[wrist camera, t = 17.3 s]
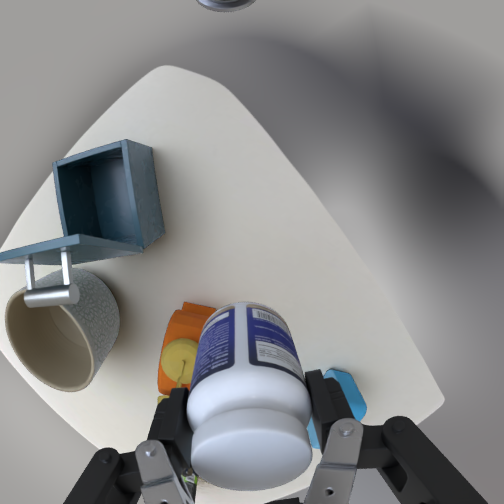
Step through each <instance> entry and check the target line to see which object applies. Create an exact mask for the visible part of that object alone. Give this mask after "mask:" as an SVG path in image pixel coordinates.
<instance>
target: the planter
mask: <svg viewBox="0 0 504 504" xmlns="http://www.w3.org/2000/svg"><path fill="white" fill-rule="evenodd" d="M72 274H73V283H74V284H76V285H77V287H78V289H79V294H80V297H79V301H78V302H77V303H76V304H68V305H57V306H46V307H34V308H30V307H28V306H27V305H26V304H25V301H24V293H25V291H26V290H27V286H26V287H24V288H22V289H20V290H19V291H17V292H16V293H14V294H13V295H12V296H11V298H10V299H9V301H8V303H7V306H6V310H5V326H6V331H7V335H8V338H9V341H10V343H11V346H12V348H13V350H14V352H15V353H16V355H17V357H18V358H19V360H20V361H21V362H22V364H23V365H24V366H25V367H26V368H27V370H28V371H29V372H30V373H31V374H33V375H34V376H35V377H36V378H37V379H39V380H40V381H41V382H43V383H44V384H46V385H48V386H50V387H52V388H54V389H57V390H60V391H65V392H76V391H80V390H82V389H84V388H86V387H87V386H88V385H89V384H90V382H91V381H92V380H93V378H94V377H95V375H96V373H97V372H98V370H99V368H100V367H101V365H102V363H103V362H104V360H105V358H106V356H107V355H108V353H109V352H110V350H111V348H112V347H113V345H114V343H115V341H116V339H117V336H118V332H119V327H120V315H119V310H118V306H117V303H116V300H115V298H114V296H113V294H112V293H111V291H110V290H109V288H108V287H107V286H106V285H105V284H104V283H103V282H102V281H101V280H100V279H99V278H98V277H96V276H95V275H93V274H92V273H90V272H88V271H85V270H82V269H78V268H72ZM62 284H64V279H63V270H62V269H61V270H58V271H55V272H53V273H51V274H49V275H47V276H45V277H43V278H41V279H39V280H37V281H35V287H36V288H40V287H47V286H55V285H62Z"/></svg>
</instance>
